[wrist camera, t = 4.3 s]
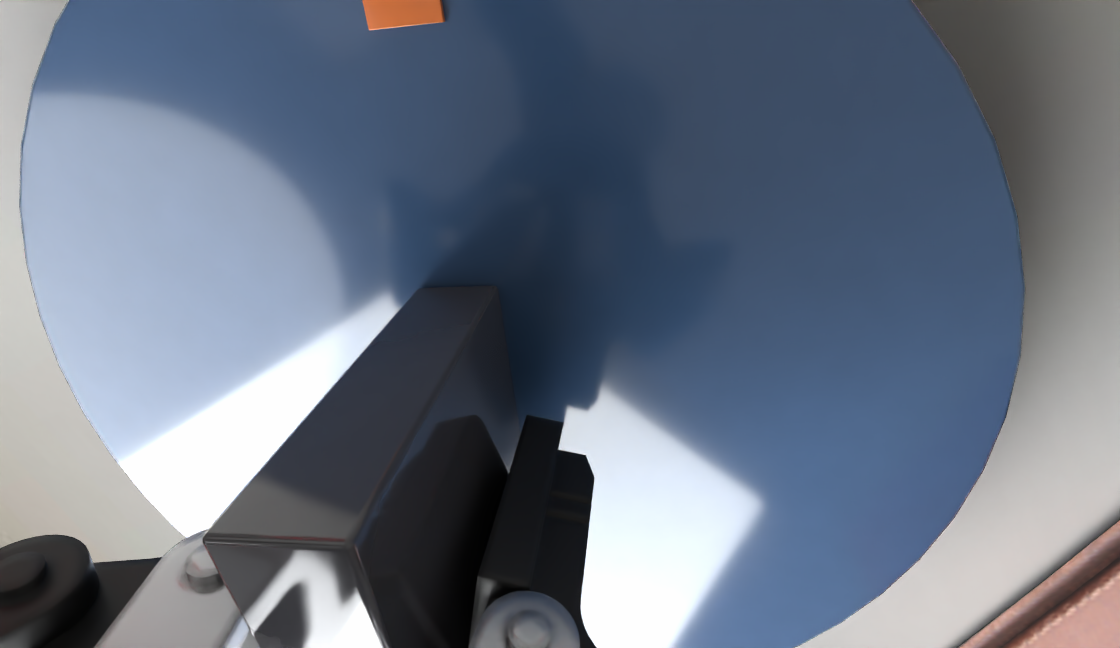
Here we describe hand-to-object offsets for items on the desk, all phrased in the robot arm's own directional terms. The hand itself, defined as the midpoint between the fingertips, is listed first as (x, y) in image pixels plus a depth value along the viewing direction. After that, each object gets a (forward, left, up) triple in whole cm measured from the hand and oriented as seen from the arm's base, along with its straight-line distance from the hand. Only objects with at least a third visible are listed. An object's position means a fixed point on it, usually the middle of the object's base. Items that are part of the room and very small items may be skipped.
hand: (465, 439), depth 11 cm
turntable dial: (0, 0, -2) cm, 2 cm away
